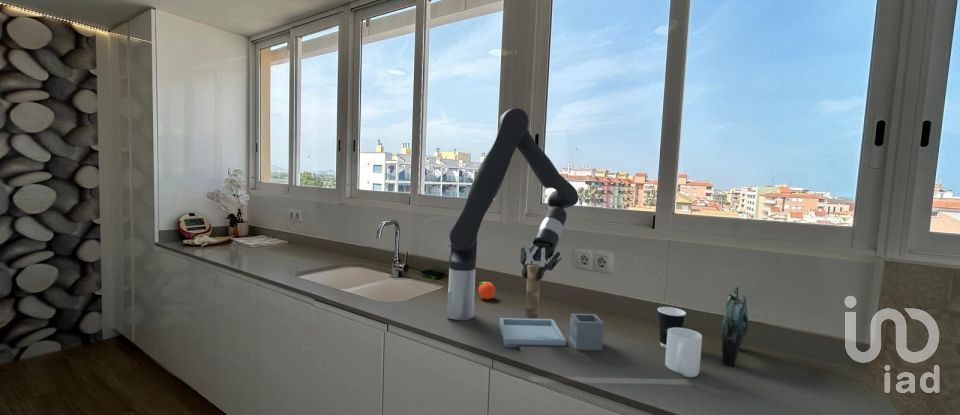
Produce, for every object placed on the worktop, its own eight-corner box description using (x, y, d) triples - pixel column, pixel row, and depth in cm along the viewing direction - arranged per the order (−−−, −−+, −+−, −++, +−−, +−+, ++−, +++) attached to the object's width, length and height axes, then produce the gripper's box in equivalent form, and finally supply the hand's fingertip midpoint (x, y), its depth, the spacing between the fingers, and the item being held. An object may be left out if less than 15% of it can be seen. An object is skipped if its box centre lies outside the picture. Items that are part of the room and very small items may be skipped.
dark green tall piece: (723, 342, 133) (728, 280, 131) (747, 348, 129) (753, 284, 127) (715, 363, 117) (721, 293, 115) (742, 370, 113) (749, 298, 111)
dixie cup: (662, 350, 124) (665, 314, 123) (650, 340, 132) (653, 306, 131) (688, 351, 124) (691, 315, 123) (675, 341, 132) (677, 307, 131)
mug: (695, 387, 103) (698, 346, 102) (659, 377, 107) (662, 338, 106) (700, 369, 112) (704, 332, 112) (667, 361, 117) (670, 325, 116)
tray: (504, 347, 122) (505, 339, 122) (499, 325, 140) (499, 318, 139) (565, 348, 123) (566, 340, 122) (552, 326, 140) (553, 319, 140)
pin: (526, 318, 129) (528, 266, 127) (524, 313, 133) (526, 264, 131) (539, 318, 129) (541, 267, 127) (537, 313, 133) (539, 264, 131)
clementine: (474, 300, 167) (474, 282, 166) (477, 295, 173) (477, 278, 173) (493, 302, 165) (494, 284, 165) (496, 297, 172) (497, 280, 172)
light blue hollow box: (575, 353, 120) (577, 322, 119) (569, 342, 127) (570, 313, 127) (601, 353, 120) (603, 323, 120) (593, 343, 128) (595, 314, 127)
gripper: (525, 225, 139) (506, 267, 129) (566, 229, 131) (549, 274, 122) (532, 239, 144) (513, 281, 134) (571, 244, 136) (555, 288, 127)
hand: (530, 277), depth 128 cm, fingers closed on pin, 4 cm apart
